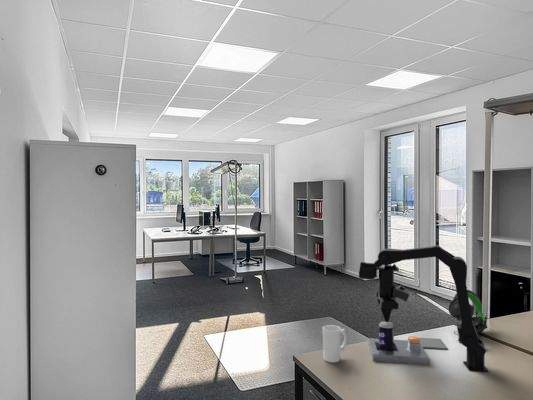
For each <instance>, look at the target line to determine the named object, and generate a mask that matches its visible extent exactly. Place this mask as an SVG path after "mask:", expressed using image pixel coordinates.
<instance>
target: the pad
mask: <svg viewBox="0 0 533 400" xmlns="http://www.w3.org/2000/svg"><path fill="white" fill-rule="evenodd" d="M419 338H420V344H421V346H422V347H423V349H427V348H433V349H432V350H447V351H448V350H449V348H448V347H447V345H446V344H445V342H443V340H442V339H441V338H435V337H434V338H432V337H431V338H430V337H419Z"/></svg>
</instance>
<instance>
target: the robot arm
mask: <svg viewBox="0 0 533 400" xmlns="http://www.w3.org/2000/svg"><path fill="white" fill-rule="evenodd" d="M426 258H437V260H439V261H440V262H441V263H443V264H444V265H445V266H446V267H448V268H449V271H450V273H451V277H452V279H453V282H454V285H455V291H456V293H457V298H458V304H459V310H460V317H461V322H459V323H456V329H457V330H456V331H457V338H458V339H459V340H461V342H460V343H461V344H462V346H464V347H465V348H466V360H465V361H464V360H463V361H462V362H463V364H464V366H465V367H466V368H467V370H469V371H471V372H488V373H489V369H488V367H487V366H486V365H485V361H486V360H485V359H486V358H485V354H486V353H487V349H486V347H485V343H484V341H483V340H482V339H481V337H480V338H479V337H478V335H479V334H477V332H476V329H475V327H474V324H473V321H472V317H473V316H472V317H471V311H470V305H469V304H470V299H469V297H468V292H467V290H468V286H467V280H468V279H467V275H468V274H467V273H468V265H467V263H466V260H465V259H464V258H462V257H461V256H455V255H454V254H452V253H450V252H448V250H445V249H444V248H443V247H442V246H441V245H438V244H437V245H432V246H425V247H417V248H407V249H399V248H397V249H396V248H382V250H381V251H379V253H378V254H377V259H376V260H375V261H374V262H365V261H361V262H360V263H359V264H360V265H359V271H358V278H359V280H371V281H375V279H376V278H378V281H377V285H378V288H377V289H376V290H375V292H374V293H375V297H376V298H377V299H376V301H377V304H378V307H379V309H380V311H381V314H382V316H383V319H384V321H385V322H390V318H391V313H392V311H393V310H399V302H398V301H397V300H396V299H397V298H398V299H400V300H402V301H403V302H408V300H409V296H410V293H409V291H407V290H405V287H404V286H403V285H399V286H396V285H395V282H394V281H395V272H398V271H399V270H400V268H399V267H398V266H397V265H396V263H399V262H401V261H408V260H409V261H410V260H418V259H426Z"/></svg>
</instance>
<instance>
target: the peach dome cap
mask: <svg viewBox="0 0 533 400" xmlns="http://www.w3.org/2000/svg"><path fill="white" fill-rule="evenodd" d="M420 338H421V337H418V336H416V335H410V336H408V338H407V340H408V342H409V343H411V344H420Z"/></svg>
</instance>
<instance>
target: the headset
mask: <svg viewBox="0 0 533 400" xmlns="http://www.w3.org/2000/svg"><path fill="white" fill-rule="evenodd" d="M467 292H468V298H469V301H471V302H472V305H471V303H469V305H470V311H471V317H472V321H473V324H474V327H475V329H476V332H477V335H478V337H479V338H480V339H481V335H480V334H482V333H483V332H484V330H486V329H488V325H487V324H488V323H487V322H488V321H487V319H488V317H483V313H482V304H483V302H482V301H481V299H480V298H479V296H478V295H477V294H476V293H475V292H474V291H472V290H471V289H467ZM475 310H476V312H477V315H478V316H474V313H475ZM448 313H449V316H450V317H452V318H453V319H456V321H457V320H458V322H459V323H461V317H460V310H459V304H458V298H457V292H456V294H455V295H454V297H453V299H452V300H451V301H450V302H449V305H448ZM453 333H454V335H456V336H458V333H457V330H456V331H453ZM457 342H460V343H462V342H461V340H459V338H458V339H457Z"/></svg>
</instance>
